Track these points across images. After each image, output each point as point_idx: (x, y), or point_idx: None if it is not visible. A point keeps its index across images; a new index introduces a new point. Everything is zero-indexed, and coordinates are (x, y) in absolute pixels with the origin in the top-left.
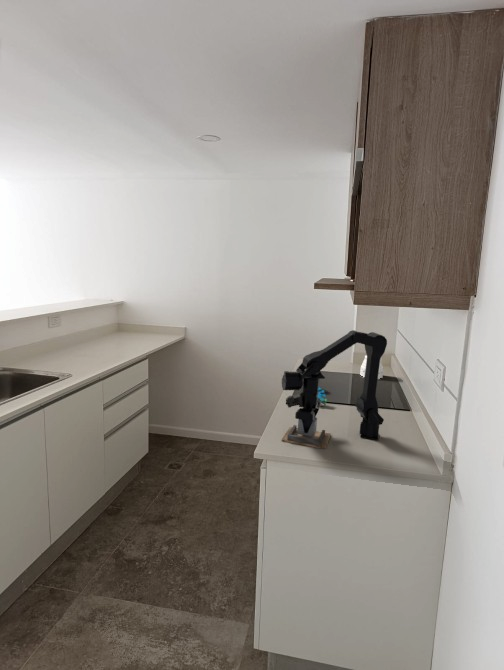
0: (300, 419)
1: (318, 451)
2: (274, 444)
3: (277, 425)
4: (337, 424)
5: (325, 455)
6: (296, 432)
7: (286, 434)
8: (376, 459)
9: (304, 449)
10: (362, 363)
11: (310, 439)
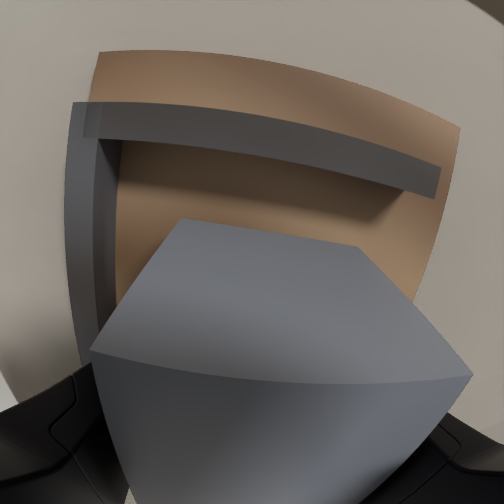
0: (138, 400)
1: (54, 360)
2: (40, 32)
3: (468, 31)
4: (466, 414)
5: (37, 383)
6: (339, 190)
7: (249, 75)
8: (130, 499)
9: (30, 277)
10: None
11: (81, 353)
